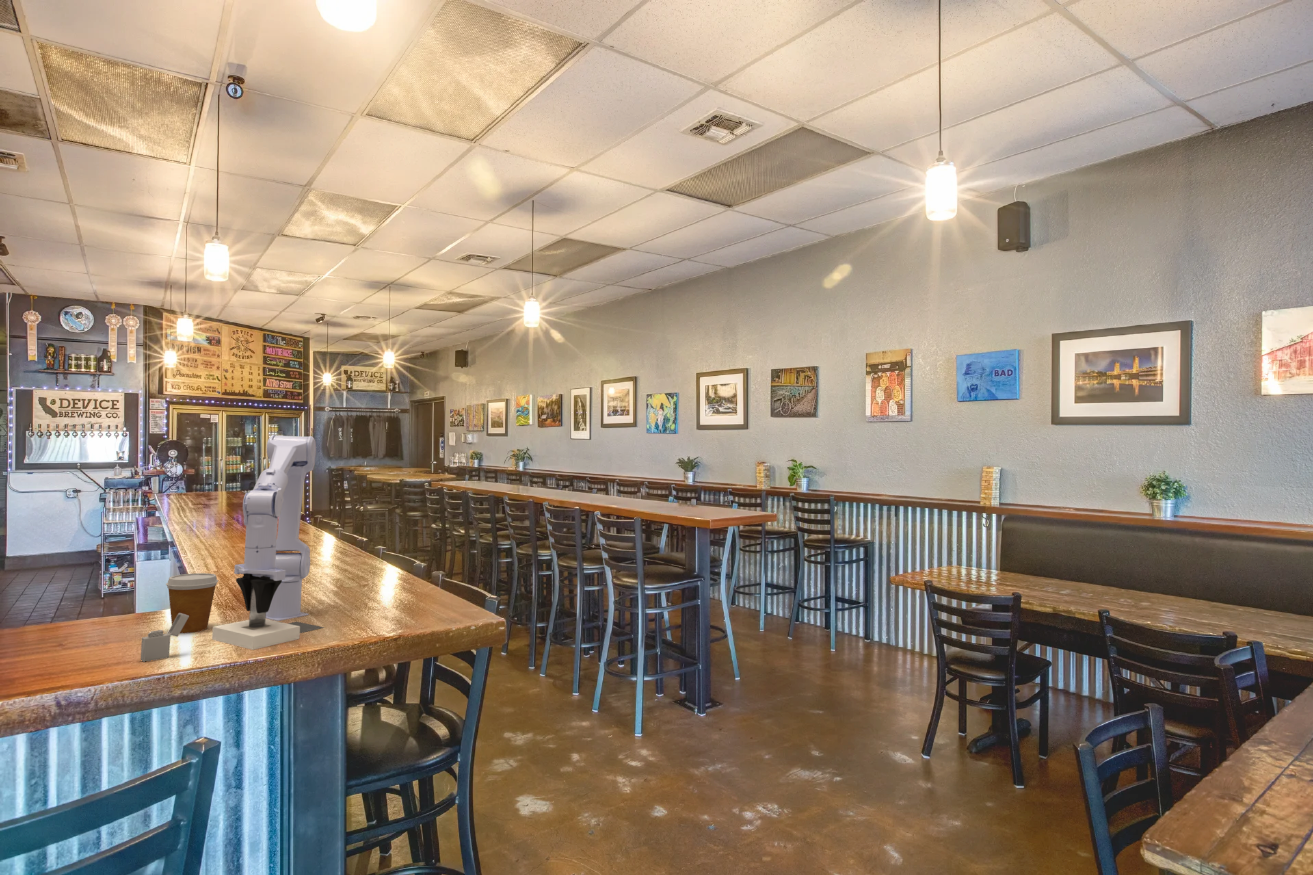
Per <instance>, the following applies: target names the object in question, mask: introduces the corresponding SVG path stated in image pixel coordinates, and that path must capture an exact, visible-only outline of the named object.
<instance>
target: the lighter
mask: <svg viewBox="0 0 1313 875" xmlns="http://www.w3.org/2000/svg"><path fill="white" fill-rule="evenodd" d="M188 617H189V616H188V615H186V614H182V613H178V615H177V617H176V619H175V620H174V622H173V624H172V623H171V625H170V627H169V630H168V631H167V633H164V630H163V629H158V630H152V631H150V632H148V633H147V636H143V637H141V643H140V644H141V646H140V650H141V651H140V661H141V660H142V661H143V662H142V661H141V662H142V663H146V662H145V661H148V662H151V660H153V661H157V660H163V659H164V660H165V659H168V658H170V649H171V648H170V647H171V646H170V645H171V636H173V637H178V636H179V635H180V634H181V633H180V632H181V630H182V628H183V626H184V624H185V623H186V621H187V619H188Z"/></svg>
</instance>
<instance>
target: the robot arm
mask: <svg viewBox="0 0 1313 875" xmlns="http://www.w3.org/2000/svg"><path fill="white" fill-rule="evenodd" d="M316 454H317V442H316V438H314V437H313V436H312V435H310V436H302V435H301V436H297V435H296V436H295V435H276V434H271V436H270V437H269V438H268V439H267V443H266V456H267V457H268V459H269V462H270V463H269V465H268V468H266V469H264V470H262V471H261V472H260V475H259V476H258V478H257V480H256V483H255V485H254V487H253V488H252V490H249V492H245V494H244V497H243V500H242V501H243V502H242V512H243V525H244V526H245V541H244V542H245V544H244V558H243V560H244V563H241V564H234V573H233V574H235V575H242V576H241V577H236V578H235V582H236V584H237V585H238V587H239V589H240V591H241V594H242V596H243V601H244V605H245V609H246V611H247V612H250V603H251V589H252V586H253V588H254V592H255V597H256V611H257V613H264V612H266V619H268V620H273V621H277V622H282V621H285V620H289V619H295V618H300V617H304V616H305V617H306V616H309V613H307V612H303V611H301V607H302V586H303V584H302V583H303V579H306V578H307V577H308V576H309V574H310V570H311V549H310V547H309V545H308V544H306V543H305V542H303V541H302V540H301V539H300V538H299V537H300V527H301V516H302V505H303V497H304V496H303V494H304V485H305V478H306V475H307V473H309V472H311V471H314V467H315V463H316Z"/></svg>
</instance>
